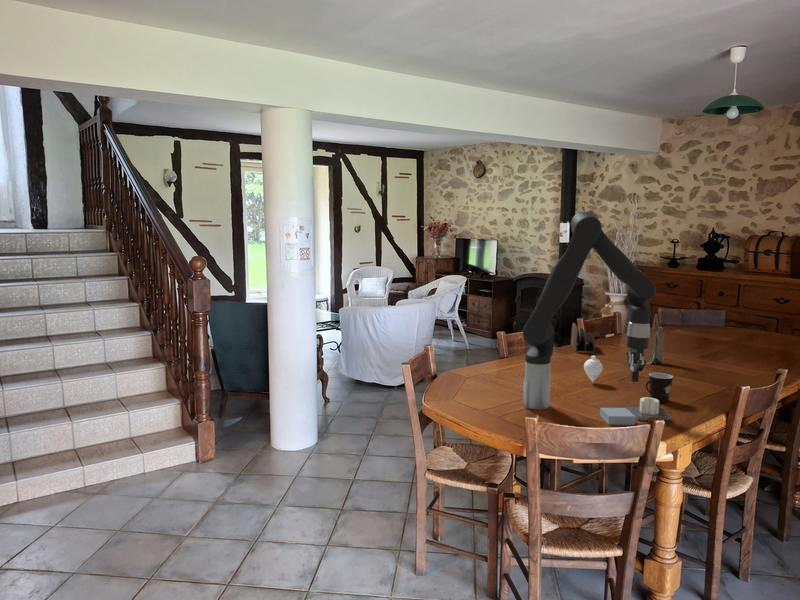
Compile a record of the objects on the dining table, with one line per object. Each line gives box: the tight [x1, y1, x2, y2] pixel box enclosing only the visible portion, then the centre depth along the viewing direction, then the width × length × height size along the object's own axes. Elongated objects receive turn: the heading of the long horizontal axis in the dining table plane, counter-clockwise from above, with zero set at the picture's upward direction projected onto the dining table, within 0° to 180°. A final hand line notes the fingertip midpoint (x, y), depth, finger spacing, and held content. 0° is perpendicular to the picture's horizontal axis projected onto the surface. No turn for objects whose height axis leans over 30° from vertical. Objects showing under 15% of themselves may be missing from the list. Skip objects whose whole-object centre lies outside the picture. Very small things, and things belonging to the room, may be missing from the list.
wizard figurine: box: [646, 313, 666, 365], centre depth 278 cm, size 10×8×25 cm
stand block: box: [599, 407, 636, 426], centre depth 199 cm, size 9×9×3 cm
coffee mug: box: [645, 372, 674, 404], centre depth 220 cm, size 12×9×10 cm
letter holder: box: [570, 322, 596, 354], centre depth 311 cm, size 10×20×14 cm, turn 170°
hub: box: [626, 406, 673, 422], centre depth 203 cm, size 12×10×5 cm
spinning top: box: [583, 355, 604, 384], centre depth 244 cm, size 8×8×12 cm
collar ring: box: [639, 396, 660, 415], centre depth 203 cm, size 6×6×4 cm
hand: (634, 381), depth 206 cm, fingers closed
